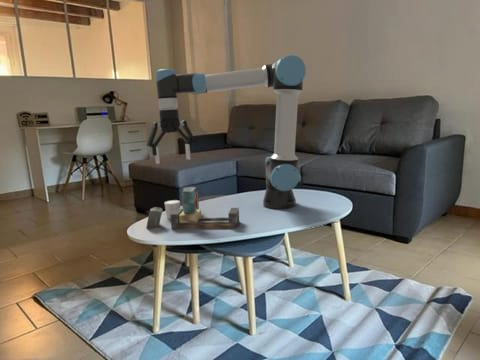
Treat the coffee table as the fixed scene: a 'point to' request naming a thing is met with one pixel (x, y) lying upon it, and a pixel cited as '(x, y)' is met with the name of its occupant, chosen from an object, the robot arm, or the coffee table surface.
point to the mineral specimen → (154, 217)
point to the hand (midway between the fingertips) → (173, 161)
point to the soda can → (195, 196)
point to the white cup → (171, 207)
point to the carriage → (189, 208)
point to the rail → (207, 221)
